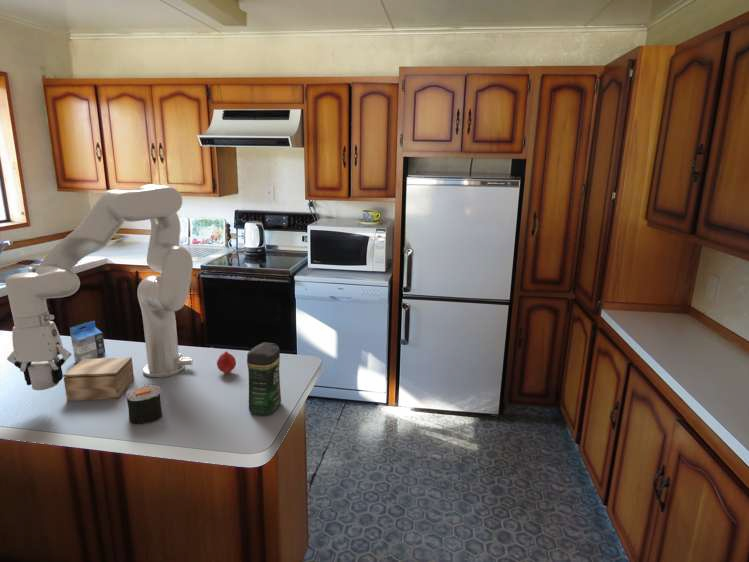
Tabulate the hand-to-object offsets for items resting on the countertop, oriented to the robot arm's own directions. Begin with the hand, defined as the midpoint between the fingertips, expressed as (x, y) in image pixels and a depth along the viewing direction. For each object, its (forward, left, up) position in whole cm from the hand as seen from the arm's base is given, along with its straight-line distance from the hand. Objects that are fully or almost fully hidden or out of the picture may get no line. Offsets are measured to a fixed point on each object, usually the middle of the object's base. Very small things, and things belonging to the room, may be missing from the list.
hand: (45, 381), depth 126 cm
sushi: (-27, +7, -9) cm, 29 cm away
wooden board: (-9, -10, -1) cm, 14 cm away
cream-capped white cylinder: (0, 0, -1) cm, 1 cm away
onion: (-44, -18, -8) cm, 49 cm away
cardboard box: (-9, -10, -8) cm, 16 cm away
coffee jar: (-59, +5, -8) cm, 60 cm away
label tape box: (+5, -35, -9) cm, 37 cm away
